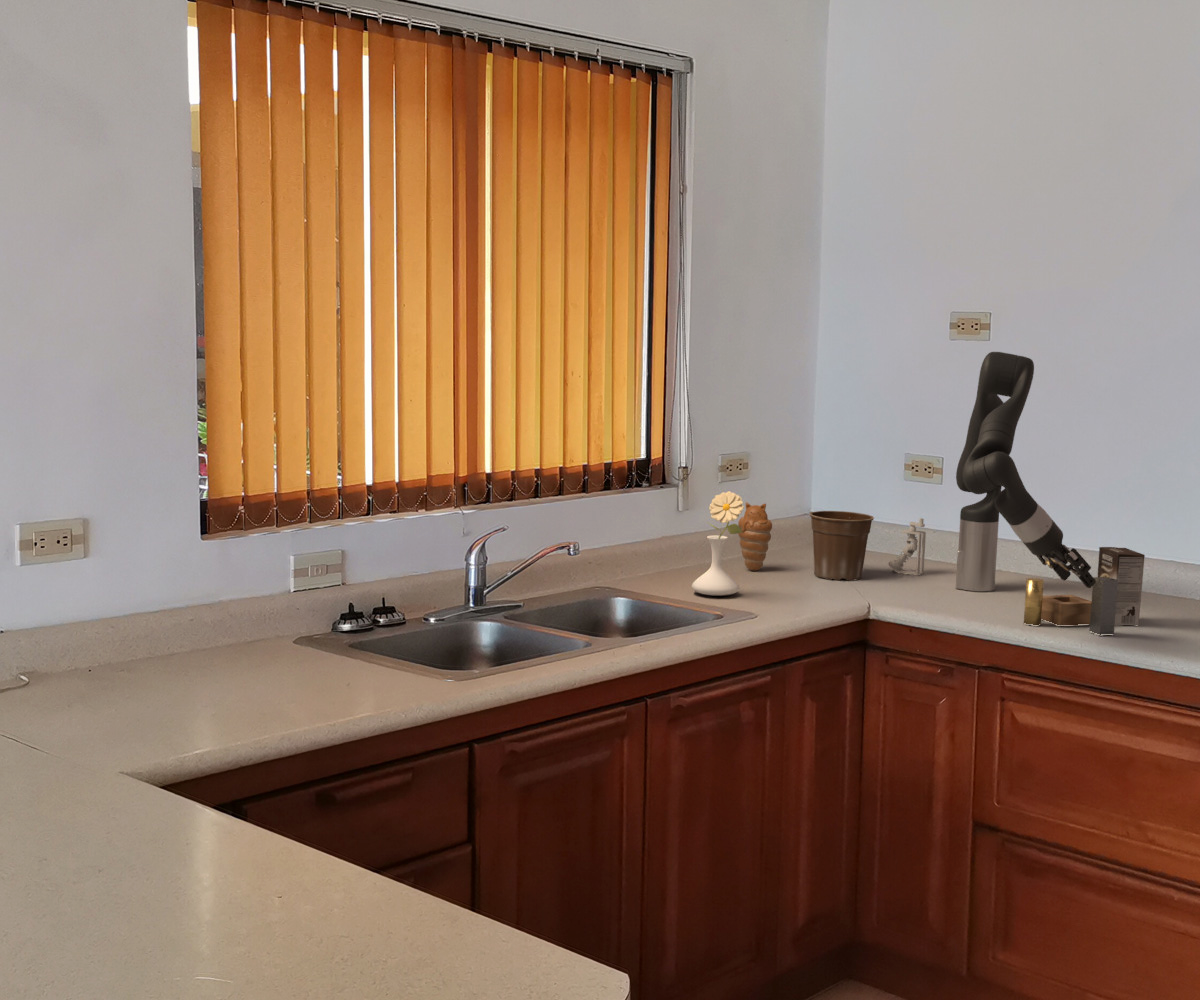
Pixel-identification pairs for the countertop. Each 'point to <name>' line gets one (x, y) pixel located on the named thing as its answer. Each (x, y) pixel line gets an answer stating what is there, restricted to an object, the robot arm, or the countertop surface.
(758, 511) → the cat ice cream
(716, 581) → the flower in vase
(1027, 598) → the round bit
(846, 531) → the plant pot
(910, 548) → the clamp
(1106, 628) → the square bit
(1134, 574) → the coffee box
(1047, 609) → the bore block
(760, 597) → the countertop surface
